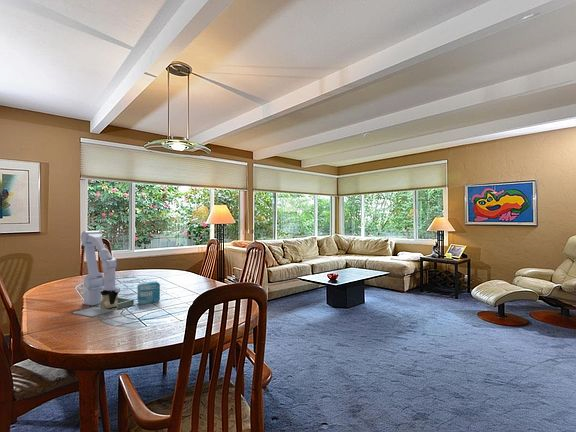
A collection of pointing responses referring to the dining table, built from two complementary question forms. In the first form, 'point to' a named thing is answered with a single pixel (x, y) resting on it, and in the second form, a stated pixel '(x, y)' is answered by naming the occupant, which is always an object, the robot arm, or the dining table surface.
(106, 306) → the block
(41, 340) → the dining table surface
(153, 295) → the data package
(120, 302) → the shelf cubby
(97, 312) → the rubber mat
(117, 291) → the robot arm
